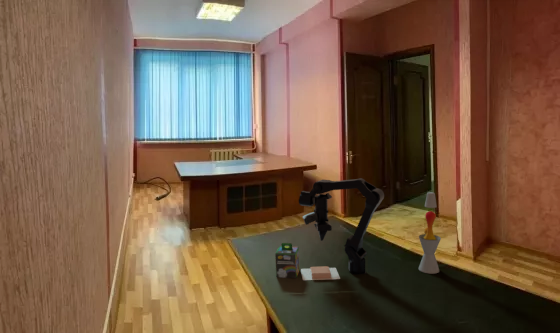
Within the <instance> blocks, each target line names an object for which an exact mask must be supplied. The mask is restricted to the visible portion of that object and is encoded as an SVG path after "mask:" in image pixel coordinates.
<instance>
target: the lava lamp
mask: <svg viewBox="0 0 560 333" xmlns="http://www.w3.org/2000/svg"><path fill="white" fill-rule="evenodd" d="M425 197H426V198H425V203H424V207H425V208H428V209H435V208H438V207H437V200H436V194H435V192H430V191H429V192H428V191H427V193H426V196H425ZM425 219H426V224H427V227H425V228H424V230H423V232H424V234H423V233H422V234H420V235H419V236H418V239H419V242H420V245H421V247H422V252H423V255H422V257H421V261H420V263H419V266H418V270H419V272H422V273H425V274H433V275H434V274H437V273H440V269H439V268H440V267H439V264H438V261H437V258H436V256H435V254H436V251H437V248H438V247H439V244H440V242H441V237H440V236H439V235H437V234H436V235H435V234H434V233H433V232H434V231H433V226H434V223H435V221H436V219H437V215H436V213H435V212H434V211H431V210H430V211H427V212H426V213H425Z"/></svg>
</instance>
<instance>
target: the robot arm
mask: <svg viewBox="0 0 560 333" xmlns="http://www.w3.org/2000/svg"><path fill="white" fill-rule="evenodd" d="M352 189H353V190H354V189H357V190H358V191H359V192H360V193H361V195H362V196H363V197H364V198H365V202H364V210H363V212H362V214H361V217H360V219H359V221H358V224H357V226H356V229H355V231H354V233H353V234H351V235H349V237H347V238H346V241H345V244H344V245H343V247H344V252H345V254H346V255H347V257H348V270H349V272H350V273H351V275H367V272H366V259H365V258H366V256H367V253H368V252H367V250H366V249H364V247H363V245H364V237H365V234H366V232H367V229H368V227H369V225H370V223H371V220H372V218H373V216H374V213H375V211H376V210H377V208H378V207H379V206H380V204H381V203H382V201H383V200H384V198H385V193H384V191H383V189H381V188H377V186H375V185H373V184H372V183H370V182H368V181H366V180H365V179H364V178H361V177H360V178H356V179H343V180H330V179H320V180H317V181H315V182H314V183H313V185H312V189H311V190H310V191H305V190H302V191H300V194H299V198H298V204H299V205H300V206H303V207H304V206H305V207H313V206H314V209H313V212H309V213H307V214H305V215H302V219H303V222H304V224H305V225H309V224H311V223H314V222H315V223H314V227H315V229H316V230H317V232H318V236H319V240H320V241H322V242H323V241H324V239H325V236H326V235H327V233H328V232H332V231H333V230H332V228H333V226H332V225H331V223H329V218H328V215H329V214H328V213H329V209H328V208H329V207H328V205H329V204H328V200H330V199H332V198H333V196H332V195H331V194H330V193H329V192H332V191H339V190H341V191H342V190H352Z"/></svg>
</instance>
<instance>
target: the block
mask: <svg viewBox="0 0 560 333" xmlns="http://www.w3.org/2000/svg"><path fill="white" fill-rule="evenodd" d="M329 268H330V267H329V265H327V266H324V265H322V266H310V267H309V269H310V273H311V277H312V279H320V278H331V272H330V270H329Z"/></svg>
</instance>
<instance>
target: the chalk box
mask: <svg viewBox="0 0 560 333" xmlns="http://www.w3.org/2000/svg"><path fill="white" fill-rule="evenodd" d="M280 244H281V245H280V246H278V247H277V249H276V251H275V254H274V256H275V276H276V278H282V279H283V278H286V279H288V278H289V279H297V278H298V275H299V272H301V268H300V250H299V249H300V248H299V245H297V246H295V245H293V243H292V242H282V243H280Z"/></svg>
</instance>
